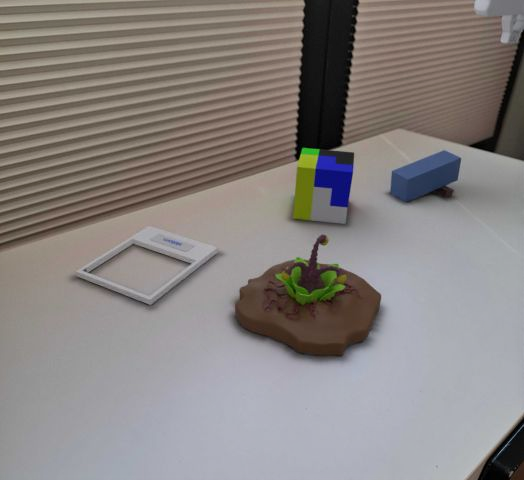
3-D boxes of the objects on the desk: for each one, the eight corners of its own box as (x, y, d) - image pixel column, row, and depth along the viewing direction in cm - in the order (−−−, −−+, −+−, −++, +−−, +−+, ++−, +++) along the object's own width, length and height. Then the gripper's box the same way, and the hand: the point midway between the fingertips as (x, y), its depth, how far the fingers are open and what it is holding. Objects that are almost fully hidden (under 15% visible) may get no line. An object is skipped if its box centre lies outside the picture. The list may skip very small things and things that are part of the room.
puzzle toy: (345, 223, 96) (353, 172, 90) (293, 218, 97) (297, 166, 91) (346, 201, 104) (354, 152, 97) (298, 196, 105) (302, 147, 98)
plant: (398, 301, 77) (415, 235, 70) (338, 372, 65) (351, 301, 58) (287, 260, 86) (292, 196, 78) (215, 316, 73) (213, 247, 66)
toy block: (444, 149, 108) (391, 170, 104) (461, 157, 105) (407, 179, 101) (441, 172, 112) (390, 193, 108) (457, 180, 108) (405, 202, 105)
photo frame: (217, 246, 86) (149, 298, 74) (217, 252, 87) (150, 305, 75) (149, 224, 91) (75, 270, 79) (149, 230, 92) (76, 276, 80)
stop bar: (422, 180, 113) (424, 174, 112) (452, 196, 107) (454, 189, 106) (416, 182, 113) (417, 175, 112) (445, 198, 107) (447, 191, 106)
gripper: (509, -50, 81) (482, 49, 90) (590, -49, 89) (557, 42, 98) (479, -53, 85) (456, 42, 94) (559, -51, 93) (530, 36, 102)
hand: (508, 42), depth 96 cm, fingers closed
